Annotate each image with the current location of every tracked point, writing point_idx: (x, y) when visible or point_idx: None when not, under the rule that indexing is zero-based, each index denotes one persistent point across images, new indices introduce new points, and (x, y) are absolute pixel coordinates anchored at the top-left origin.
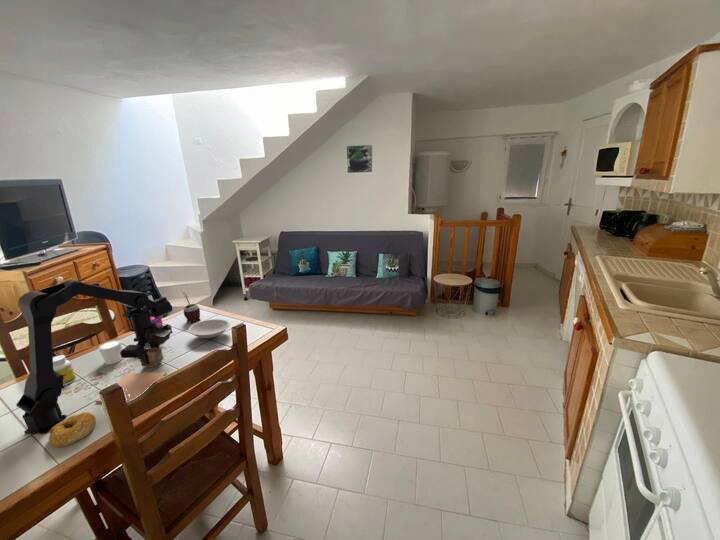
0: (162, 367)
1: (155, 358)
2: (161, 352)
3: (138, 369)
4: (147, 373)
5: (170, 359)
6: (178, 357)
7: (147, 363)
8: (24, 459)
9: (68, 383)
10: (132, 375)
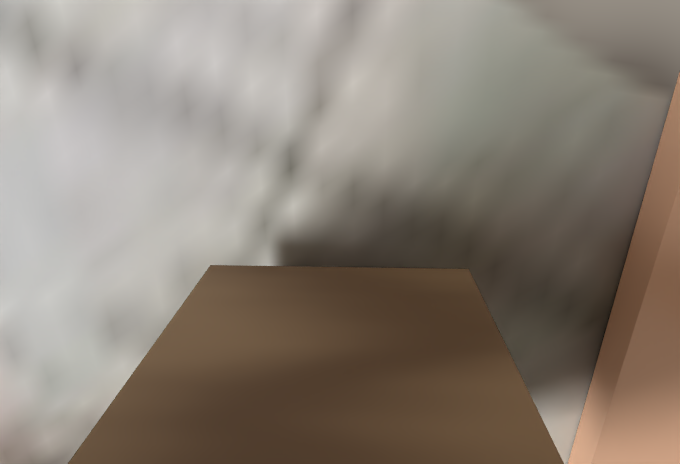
0: (422, 146)
1: (418, 364)
2: (148, 372)
3: None
4: (667, 274)
5: (167, 155)
6: (70, 22)
7: None
8: None
9: None
10: (662, 453)
